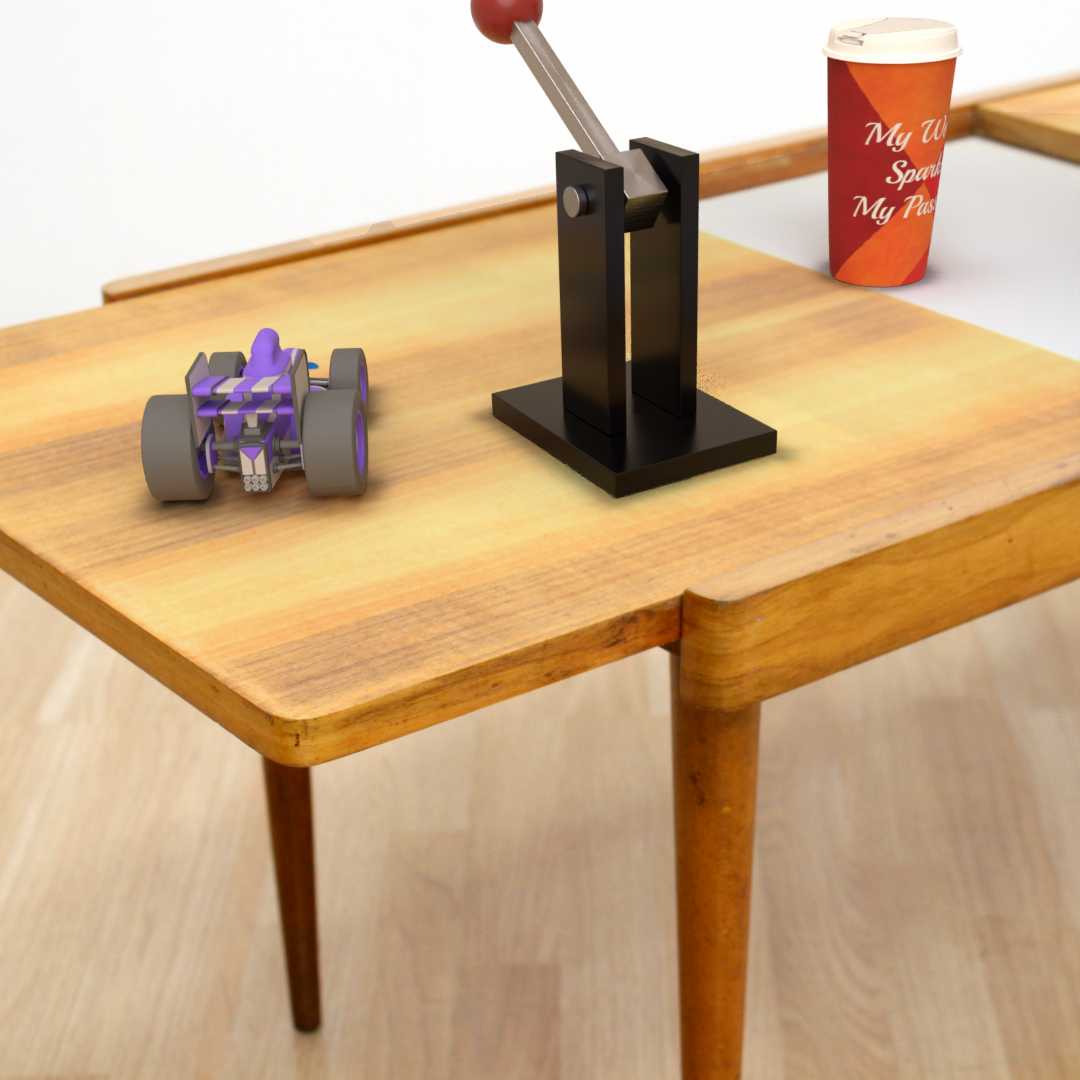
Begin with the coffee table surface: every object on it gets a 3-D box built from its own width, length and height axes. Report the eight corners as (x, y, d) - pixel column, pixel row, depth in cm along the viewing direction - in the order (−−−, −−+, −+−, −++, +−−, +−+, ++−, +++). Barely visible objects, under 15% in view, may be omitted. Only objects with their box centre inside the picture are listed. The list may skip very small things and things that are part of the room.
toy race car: (392, 390, 83) (382, 272, 80) (361, 513, 69) (347, 376, 66) (214, 396, 83) (198, 278, 80) (149, 519, 70) (126, 383, 67)
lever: (452, 16, 78) (466, -45, 75) (515, 8, 79) (531, -52, 77) (596, 248, 71) (618, 190, 68) (662, 235, 73) (686, 178, 70)
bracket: (492, 414, 79) (477, 142, 73) (640, 378, 83) (638, 117, 77) (616, 498, 70) (611, 194, 64) (777, 453, 74) (787, 162, 67)
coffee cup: (876, 301, 93) (893, 42, 86) (784, 269, 99) (793, 26, 93) (973, 274, 97) (997, 25, 90) (879, 246, 103) (895, 10, 97)
